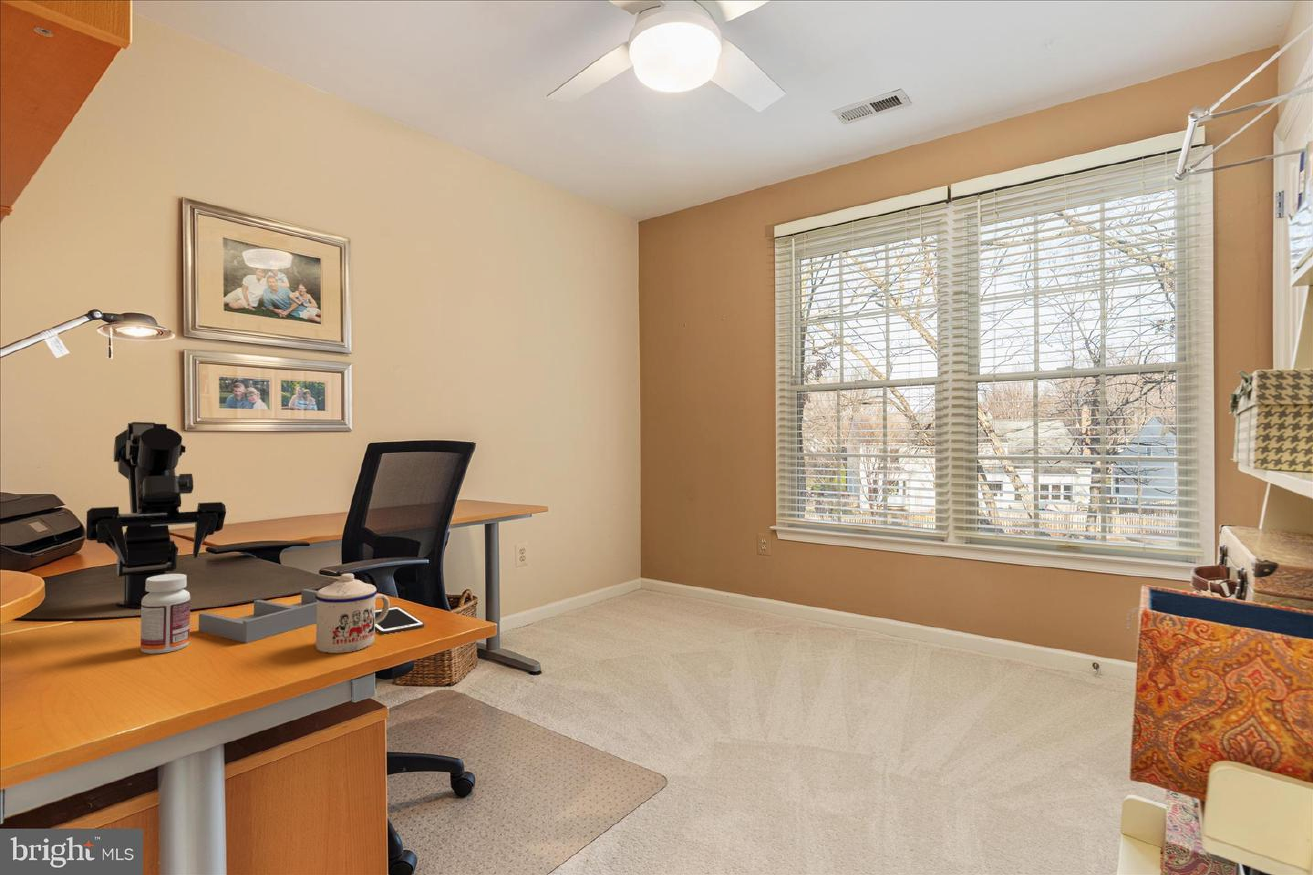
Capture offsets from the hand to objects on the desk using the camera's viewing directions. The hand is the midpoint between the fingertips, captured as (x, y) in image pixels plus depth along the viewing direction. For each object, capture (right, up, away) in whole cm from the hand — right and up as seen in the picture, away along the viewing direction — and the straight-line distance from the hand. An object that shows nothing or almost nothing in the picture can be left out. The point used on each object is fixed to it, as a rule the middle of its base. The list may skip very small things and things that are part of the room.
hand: (162, 559), depth 104 cm
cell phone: (+33, -14, +12) cm, 38 cm away
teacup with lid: (+32, -14, 0) cm, 35 cm away
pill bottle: (+5, -13, -5) cm, 15 cm away
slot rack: (+13, -13, +10) cm, 21 cm away
